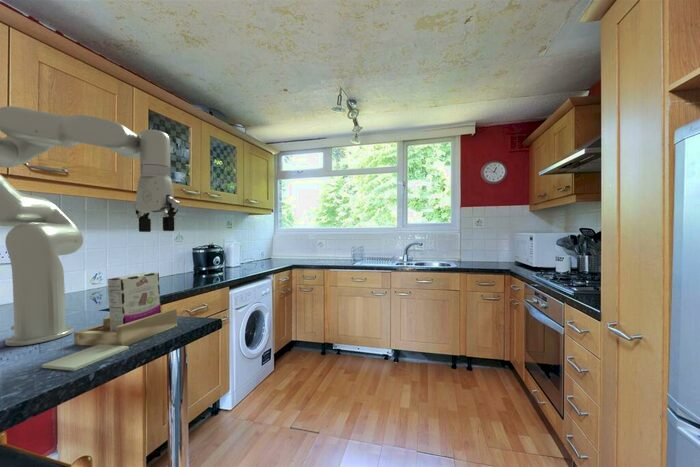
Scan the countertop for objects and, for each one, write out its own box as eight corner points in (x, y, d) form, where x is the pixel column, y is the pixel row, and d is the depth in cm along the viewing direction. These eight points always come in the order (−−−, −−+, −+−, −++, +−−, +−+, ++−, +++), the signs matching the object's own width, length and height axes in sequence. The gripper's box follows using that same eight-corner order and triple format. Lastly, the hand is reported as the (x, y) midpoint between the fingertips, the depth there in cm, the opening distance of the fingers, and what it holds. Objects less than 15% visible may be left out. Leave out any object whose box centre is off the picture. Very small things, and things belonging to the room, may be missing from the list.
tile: (41, 367, 59) (41, 364, 59) (99, 346, 70) (99, 344, 70) (74, 370, 57) (74, 367, 57) (128, 348, 68) (128, 346, 68)
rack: (74, 344, 72) (73, 324, 72) (135, 324, 88) (135, 308, 88) (122, 347, 69) (121, 326, 69) (177, 325, 84) (176, 309, 84)
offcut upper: (103, 327, 76) (103, 318, 76) (123, 321, 82) (123, 312, 82) (115, 327, 76) (115, 318, 76) (134, 320, 82) (134, 312, 82)
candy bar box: (147, 327, 84) (146, 272, 84) (162, 328, 83) (160, 271, 83) (108, 342, 73) (106, 278, 73) (124, 343, 72) (122, 278, 72)
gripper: (122, 173, 84) (123, 232, 84) (165, 168, 78) (166, 230, 78) (147, 178, 91) (148, 232, 91) (188, 173, 85) (189, 230, 85)
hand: (156, 231), depth 84 cm, fingers open, 9 cm apart
